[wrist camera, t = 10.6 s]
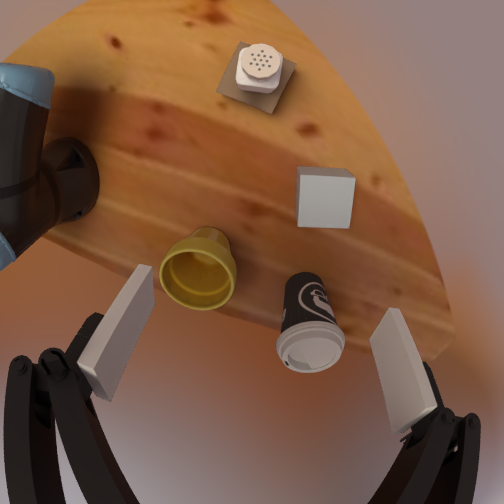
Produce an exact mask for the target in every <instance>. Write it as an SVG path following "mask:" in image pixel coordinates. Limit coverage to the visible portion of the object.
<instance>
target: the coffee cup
mask: <svg viewBox="0 0 504 504" xmlns="http://www.w3.org/2000/svg"><path fill="white" fill-rule="evenodd" d="M344 344H345V336H344V333H343V332H342V330H341V329H340V328H339V327H338V326H337V323H336V320H335V317H334V314H333V311H332V309H331V306H330V303H329V300H328V297H327V295H326V292H325V289H324V286H323V283H322V281H321V279H320V278H319V277H318V276H317V275H315V274H313V273H309V272H302V273H298V274H295V275H294V276H292V277H291V278H290V279H289V280H288V281H287V283H286V287H285V298H284V308H283V318H282V327H281V335H280V336H279V338H278V340H277V343H276V349H277V352H278V355H279V357H280V358H281V360H282V361H283V363H284V364H285V365H286V366H287V367H288V368H289V369H291V370H294V371H297V372H303V373H312V372H318V371H322V370H324V369H327V368H329V367H330V366H332V365H334V364H335V363H336V362H337V361H338V360H339V358H340V356H341V353H342V351H343V348H344Z"/></svg>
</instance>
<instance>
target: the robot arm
mask: <svg viewBox="0 0 504 504" xmlns="http://www.w3.org/2000/svg"><path fill="white" fill-rule="evenodd" d="M54 83H55V77H54V75H53V73H52V72H51V71H50V70H48V69H45V68H40V67H34V66H28V65H20V64H12V63H0V271H1V270H3V269H4V268H5V267H6V266H8V265H9V264H10V263H11V262H14V261H15V260H16V259H17V258H18V257H19V256H20V255H21V254H22V253H23V252H24V251H25V250H26V249H28V248H29V247H30V246H31V245H32V244H33V243H34V242H35V241H36V240H38V239H39V238H40V237H41V236H42V235H43V234H45V233H46V232H47V231H48V230H49V229H51V228H52V227H53V226H55V225H59V224H63V223H68V222H72V221H75V220H78V219H80V218H81V217H82V216H84V215H85V214H86V213H88V212H89V211H90V210H91V209H92V207H93V206H94V204H95V202H96V199H97V196H98V191H99V175H98V170H97V166H96V163H95V160H94V158H93V156H92V154H91V153H90V151H89V150H88V149H87V147H86V146H85V145H84V144H83V143H81V142H80V141H78V140H77V139H74V138H70V137H63V138H59V139H56V140H54V141H51V142H49V143H48V144H46V145H45V146H44V147H43V140H44V134H45V129H46V123H47V119H48V114H49V109H51V98H52V93H53V88H54ZM42 147H43V148H42ZM154 306H155V300H154V286H153V269H152V266H147V265H143V264H139V265H138V266H137V268H136V269H135V271H134V272H133V273H132V275H131V276H130V278H129V279H128V281H127V282H126V284H125V285H124V287H123V288H122V290H121V291H120V293H119V294H118V296H117V297H116V299H115V300H114V302H113V303H112V305H111V306H110V308H109V309H108V311H107V313H106V314H105V315H102V314H99V313H96V312H95V313H94V314H92V315H91V316H89V317H88V318H87V319H86V321H85V322H84V324H83V325H82V328H80V330H79V331H78V334H77V335H76V336H75V338H74V339H73V341H72V342H71V344H70V346H69V347H68V349H67V351H66V352H65V353H64V352H63V351H62V350H61V349H58V348H49V349H47V350H45V351H44V352H43V353H42V354H41V355H40V357H39V361H38V364H33V363H32V362H31V360H30V359H29V358H28V357H27V356H23V355H21V356H17V357H15V358H14V359H13V360H12V361H11V364H10V366H9V372H8V378H7V386H6V395H5V408H4V462H5V474H6V482H7V489H8V495H9V501H10V504H66V502H65V497H64V492H63V487H62V482H61V476H60V471H59V464H58V455H57V445H56V432H55V419H56V423H57V426H58V430H59V433H60V437H61V439H62V443H63V445H64V449H65V452H66V454H67V457H68V460H69V463H70V465H71V468H72V470H73V473H74V475H75V478H76V480H77V482H78V484H79V487H80V489H81V491H82V493H83V495H84V497H85V499H86V501H87V503H88V504H140V503H139V502H138V500H137V498H136V497H135V495H134V493H133V491H132V490H131V488H130V486H129V484H128V483H127V481H126V479H125V477H124V475H123V473H122V471H121V470H120V467H119V466H118V463H117V461H116V459H115V457H114V455H113V453H112V451H111V449H110V446H109V444H108V442H107V439H106V437H105V435H104V432H103V430H102V428H101V425H100V422H99V420H98V417H97V414H96V412H95V409H94V406H93V403H92V400H91V398H90V395H91V393H92V391H93V392H94V393H95V395H96V396H97V397H100V398H102V399H105V400H107V401H110V402H111V400H112V398H113V396H114V393H115V391H116V388H117V386H118V384H119V381H120V379H121V377H122V374H123V372H124V370H125V368H126V365H127V362H128V361H129V359H130V356H131V354H132V352H133V350H134V347H135V345H136V343H137V341H138V339H139V337H140V335H141V333H142V330H143V328H144V326H145V324H146V322H147V320H148V318H149V316H150V314H151V312H152V310H153V308H154ZM369 341H370V345H371V348H372V351H373V355H374V359H375V362H376V366H377V369H378V373H379V377H380V381H381V385H382V389H383V394H384V398H385V402H386V407H387V411H388V415H389V420H390V425H391V430H392V434H397V433H403V432H405V431H406V430H408V429H409V428H411V430H412V432H411V433H409V434H408V435H406V436H405V437H403V438H402V439H401V440H400V442H402V441H404V440H405V439H406V441H405V442H404V443H403V444H404V445H403V447H402V449H401V451H400V453H399V454H398V456H397V458H396V460H395V462H394V463H393V465H392V467H391V469H390V470H389V472H388V474H387V475H386V477H385V478H384V480H383V482H382V483H381V485H380V486H379V488H378V489H377V491H376V492H375V494H374V495H373V497H372V498H371V500H370V501H369V502H368V504H472V501H473V496H474V491H475V485H476V479H477V472H478V463H479V451H480V433H481V431H480V429H481V424H480V419H479V418H478V416H477V415H476V414H474V413H469V414H468V415H467V416H465V417H464V418H463V417H458V416H455V415H454V413H453V411H451V409H449V408H445V407H444V405H443V402H442V399H441V396H440V393H439V390H438V387H437V385H436V382H435V379H434V378H433V377H434V376H433V373H432V371H431V368H430V367H429V366H428V364H427V363H426V362H422V361H421V358H420V356H419V353H418V351H417V348H416V346H415V343H414V341H413V338H412V336H411V334H410V331H409V329H408V327H407V325H406V322H405V320H404V318H403V316H402V313H401V311H400V309H397V308H388V310H387V312H386V314H385V315H384V317H383V318H382V320H381V322H380V323H379V325H378V327H377V328H376V330H375V331H374V333H373V334H372V336H371V337H370V339H369ZM456 446H458V449H457V451H456V452H454V448H455V447H456Z"/></svg>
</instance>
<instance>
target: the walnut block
mask: <svg viewBox="0 0 504 504" xmlns="http://www.w3.org/2000/svg"><path fill="white" fill-rule="evenodd" d="M250 46H252V45H249V44H246V43H243V42H240V43H239V45H238V47H237V49H236V51H235V53H234V55H233V57H232V59H231V61H230V63H229V65H228V67H227V69H226V71H225V73H224V75H223V77H222V79H221V81H220V84H219V86H218V88H217V90H216V92H218V93H220V94H223V95H226V96H228V97H231V98H234V99H236V100H239V101H242V102H244V103H247V104H249V105H251V106H254V107H256V108H259V109H261V110H263V111H266V112H268V113H270V114H272V112H273V110H274V108H275V106H276V104H277V102H278V100H279V98H280V96H281V94H282V92H283V90H284V88H285V86H286V84H287V82H288V80H289V78H290V76H291V74H292V72H293V71H294V69H295V67H296V65H297V64H296V63H294V62H292V61H289V60H287V59H285V58H283V61H282V68H281V75H280V80H279V85H278V86H277V88H276V89H275V90H274V91H273V92H272V93H261V92H253V91H245V90H241V89H239V88H238V85H237V82H236V79H235V78H236V71H237V64H238V58H239V53H240V51H241V50H242V49H243V48H247V47H250Z"/></svg>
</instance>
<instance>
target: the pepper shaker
mask: <svg viewBox="0 0 504 504" xmlns="http://www.w3.org/2000/svg"><path fill="white" fill-rule="evenodd" d="M282 61H283V57H282V54H280V53H279V52H277V51H276V50H275V49H274V47H271V46H269V45H266V44H253V45H252V46H250V47H247V48H243V49H242V50H241V51H240V53H239V58H238V64H237V71H236V78H235V79H236V82H237V85H238V88H239V89H241V90H245V91H253V92H261V93H272V92H273V91H274V90H275V89H276V88H277V86H278V85H279V80H280V75H281V68H282Z"/></svg>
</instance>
